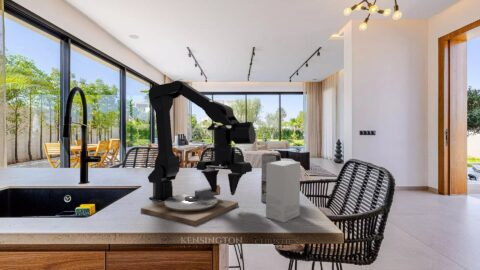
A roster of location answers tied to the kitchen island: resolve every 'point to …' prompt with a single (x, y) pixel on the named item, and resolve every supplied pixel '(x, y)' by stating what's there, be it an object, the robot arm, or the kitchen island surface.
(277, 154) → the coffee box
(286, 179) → the skincare box
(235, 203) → the wheel base
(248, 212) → the kitchen island surface
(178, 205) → the handwheel
